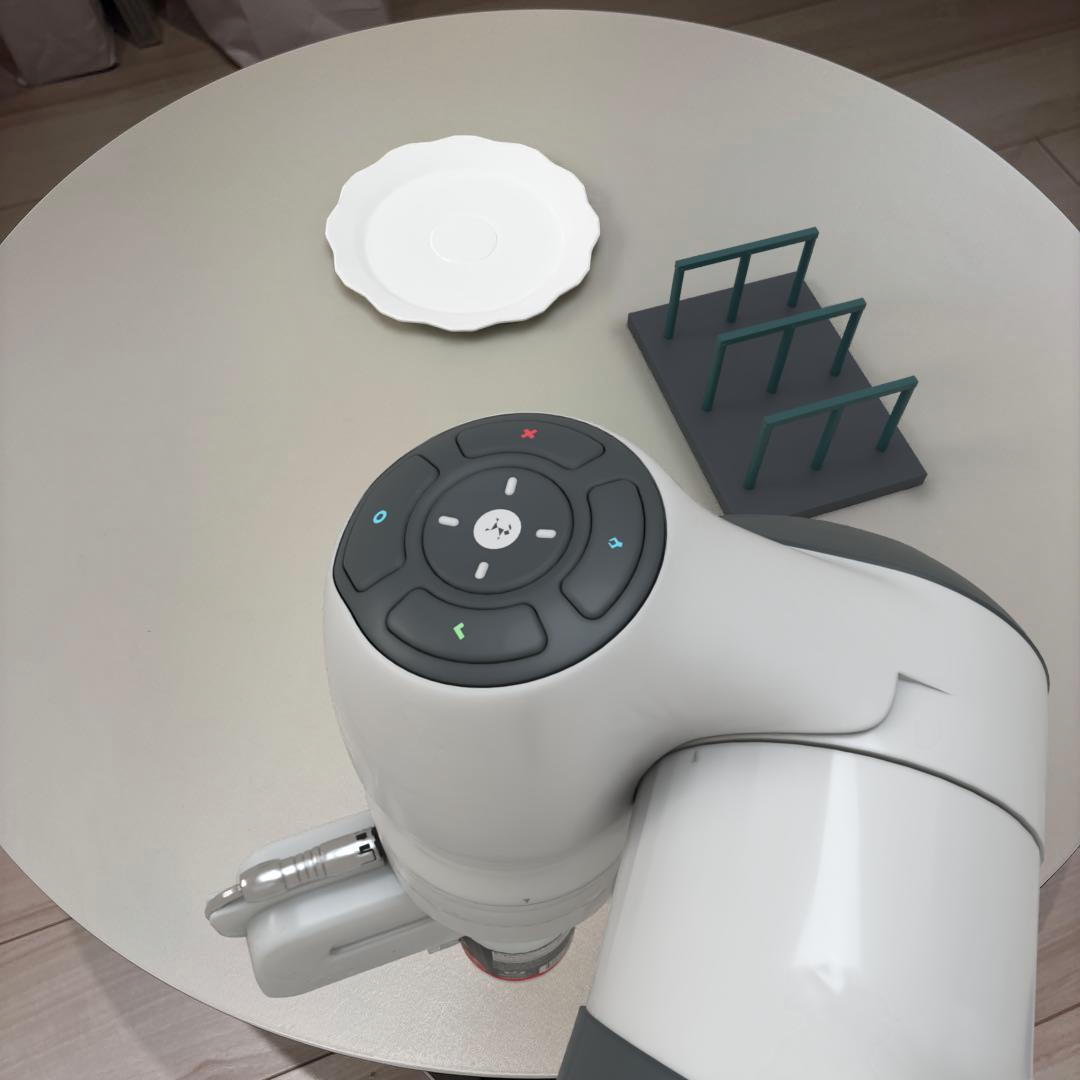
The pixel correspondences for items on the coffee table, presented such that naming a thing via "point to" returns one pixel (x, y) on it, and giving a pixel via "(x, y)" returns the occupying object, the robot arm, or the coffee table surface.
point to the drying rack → (775, 391)
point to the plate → (462, 233)
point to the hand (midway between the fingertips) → (516, 902)
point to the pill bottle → (518, 957)
